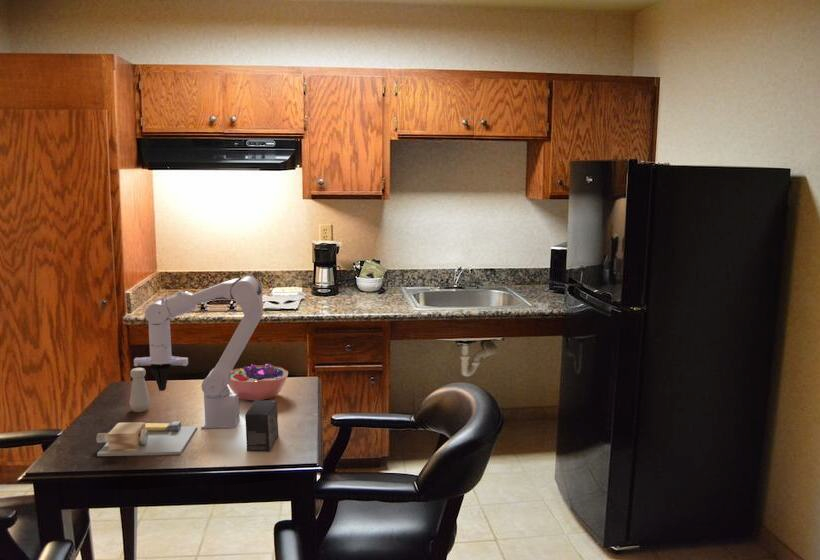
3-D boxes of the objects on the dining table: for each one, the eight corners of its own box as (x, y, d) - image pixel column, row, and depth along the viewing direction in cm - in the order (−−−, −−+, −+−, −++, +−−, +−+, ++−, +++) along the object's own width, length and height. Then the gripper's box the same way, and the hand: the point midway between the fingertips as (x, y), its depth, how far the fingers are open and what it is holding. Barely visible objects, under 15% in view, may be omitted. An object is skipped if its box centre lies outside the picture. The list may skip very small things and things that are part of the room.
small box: (255, 435, 185) (254, 399, 184) (279, 436, 185) (278, 399, 183) (245, 451, 175) (243, 413, 173) (270, 452, 175) (268, 413, 173)
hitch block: (146, 438, 181) (145, 422, 180) (136, 450, 173) (135, 433, 172) (119, 439, 180) (118, 422, 179) (108, 451, 173) (107, 433, 172)
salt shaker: (143, 414, 201) (140, 372, 198) (125, 412, 202) (123, 371, 200) (154, 407, 206) (151, 366, 204) (137, 405, 207) (134, 365, 205)
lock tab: (172, 426, 188) (172, 422, 188) (169, 430, 185) (169, 427, 185) (141, 425, 188) (141, 422, 187) (137, 430, 184) (137, 427, 184)
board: (197, 428, 190) (197, 426, 189) (180, 454, 173) (180, 451, 173) (121, 430, 188) (121, 427, 188) (97, 456, 172) (97, 453, 171)
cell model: (234, 388, 224) (233, 356, 222) (294, 390, 223) (293, 357, 221) (218, 406, 207) (217, 371, 205) (282, 408, 206) (281, 372, 204)
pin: (148, 441, 179) (147, 426, 178) (143, 447, 175) (142, 432, 174) (101, 441, 178) (100, 427, 177) (95, 448, 174) (94, 433, 174)
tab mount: (181, 427, 188) (180, 421, 188) (178, 432, 185) (177, 425, 185) (173, 428, 188) (173, 421, 188) (170, 432, 185) (170, 425, 185)
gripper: (190, 339, 193) (192, 384, 195) (138, 339, 192) (141, 385, 195) (183, 346, 186) (185, 393, 189) (130, 346, 185) (132, 393, 188)
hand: (162, 389), depth 191 cm, fingers closed
